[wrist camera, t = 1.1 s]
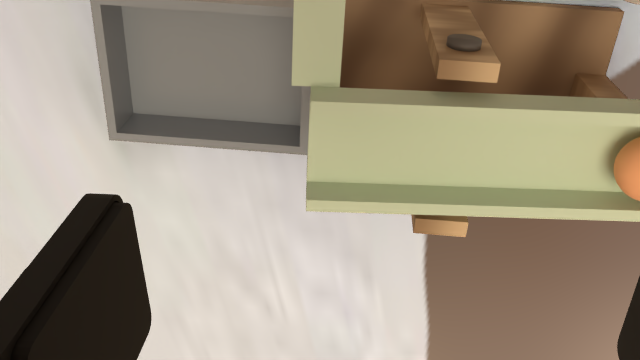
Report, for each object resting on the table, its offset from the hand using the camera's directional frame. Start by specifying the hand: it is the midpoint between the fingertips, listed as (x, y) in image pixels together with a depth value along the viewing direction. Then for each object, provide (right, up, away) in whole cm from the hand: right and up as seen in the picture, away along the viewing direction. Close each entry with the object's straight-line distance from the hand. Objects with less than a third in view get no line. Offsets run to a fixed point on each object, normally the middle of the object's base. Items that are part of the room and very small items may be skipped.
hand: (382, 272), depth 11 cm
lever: (+8, +9, +22) cm, 25 cm away
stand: (+9, +9, +32) cm, 35 cm away
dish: (-9, +10, +33) cm, 36 cm away
